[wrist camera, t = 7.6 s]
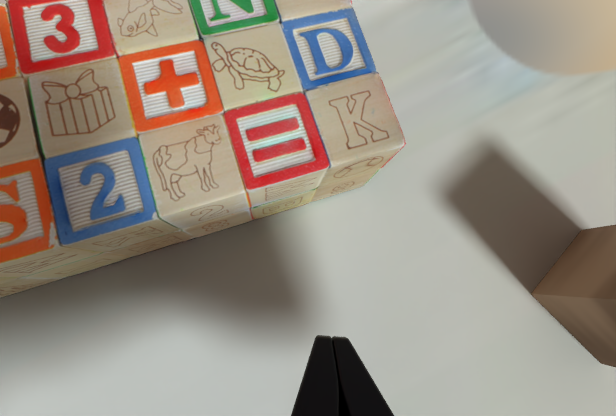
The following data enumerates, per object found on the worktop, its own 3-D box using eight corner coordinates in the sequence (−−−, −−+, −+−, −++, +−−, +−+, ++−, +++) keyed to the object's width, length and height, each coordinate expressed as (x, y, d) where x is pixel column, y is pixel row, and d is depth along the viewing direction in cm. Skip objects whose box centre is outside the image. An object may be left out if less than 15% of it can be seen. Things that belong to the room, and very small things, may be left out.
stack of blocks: (-306, 359, 9) (-329, -26, 11) (-78, 327, 15) (-118, 81, 17) (412, 142, 13) (302, -126, 15) (366, 186, 19) (293, -7, 21)
